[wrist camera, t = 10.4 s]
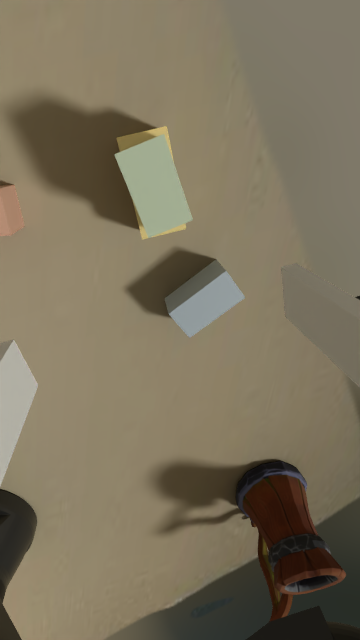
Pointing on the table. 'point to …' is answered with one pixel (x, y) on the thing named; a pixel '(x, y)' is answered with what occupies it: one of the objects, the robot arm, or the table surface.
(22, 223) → the terracotta brick
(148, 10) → the table surface
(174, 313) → the slate brick
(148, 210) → the sage brick
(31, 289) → the table surface
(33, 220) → the table surface
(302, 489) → the mug
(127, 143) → the ochre brick
